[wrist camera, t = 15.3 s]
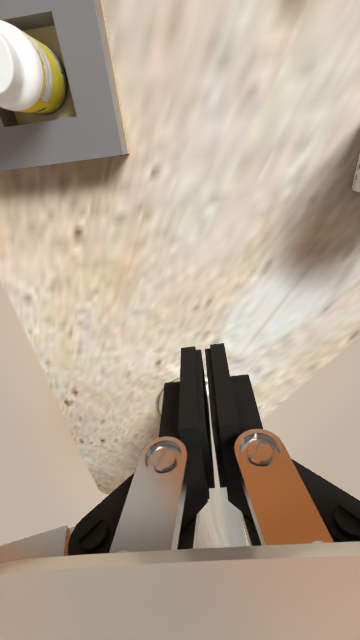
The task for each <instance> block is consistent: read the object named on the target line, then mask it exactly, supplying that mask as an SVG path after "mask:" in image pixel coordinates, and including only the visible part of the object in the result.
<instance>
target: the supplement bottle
mask: <svg viewBox="0 0 360 640" xmlns="http://www.w3.org/2000/svg"><path fill="white" fill-rule="evenodd" d="M68 92H69V81H68V77H67V73H66V70H65V67H64V65H63V63H62V62H61V60H60V59H59V57H58V56H57V55H56V54H55V53H54V52H53V51H52V50H51V49H50V48H48V47H47V46H45V45H44V44H42V43H41V42H39V41H37V40H36V39H34V38H33V37H31V36H29V35H28V34H26V33H25V32H23V31H21V30H20V29H18V28H17V27H15V26H13V25H11V24H9V23H7V22H5V21H2V20H0V107H2V108H4V109H8V110H12V111H18V112H26V113H33V114H41V115H50V114H53V113H56V112H58V111H59V110H60V109H61V108H62V107H63V106H64V104H65V102H66V100H67V97H68Z"/></svg>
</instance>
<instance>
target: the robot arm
mask: <svg viewBox="0 0 360 640" xmlns="http://www.w3.org/2000/svg"><path fill="white" fill-rule="evenodd" d="M205 354H206V366H207V376H204V369H203V361H202V354H201V350H196V349H195V347H186V348H181V368H180V378H179V379H176V380H174V381H173V382H169V383H165V385H164V390H163V391H162V393H161V395H160V399H159V411H160V414H161V423H160V432H159V438H157V439H154V440H153V441H151V442H150V443H148V444H147V445H146V446H145V448H144V449H143V451H142V453H141V455H140V458H139V461H138V464H137V467H136V470H135V473H134V474H132V475H131V476H130V477H129V478H128V479H127V480H126V481H124V482H123V483H122V484H121V485H120V486H119V487H118V488H117V489H115V490H114V491H113V492H112V493H111V494H110V495H109V496H107V497H106V498H105V499H104V500H103V501H102V502H101V503H100V504H98V505H97V506H96V507H95V508H94V509H93V510H92V511H90V512H89V513H88V514H87V515H86V516H85V517H84V518H83V519H82V520H81V521H80V522H79V523H78V524H77V525H76V526H75V527H72V528H68V527H67V526H63V527H60V528H57V529H54V530H50V531H47V532H44V533H40V534H37V535H34V536H31V537H28V538H24V539H21V540H18V541H15V542H11V543H9V544H5V545H2V546H0V640H360V501H359V500H358V499H356V498H354V497H353V496H351V495H349V494H348V493H346V492H344V491H343V490H341V489H339V488H338V487H336V486H335V485H333V484H332V483H330V482H328V481H327V480H325V479H323V478H322V477H320V476H318V475H316V474H315V473H314V472H312V471H310V470H309V469H307V468H305V467H304V466H302V465H301V464H299V463H297V462H296V461H294V460H292V459H291V458H290V456H289V454H288V452H287V450H286V448H285V446H284V444H283V443H282V441H281V440H280V438H279V437H277V436H276V435H275V434H273V433H271V432H269V431H267V430H263V427H262V423H261V420H260V416H259V412H258V408H257V405H256V401H255V397H254V393H253V390H252V386H251V382H250V379H249V376H248V375H239V376H230V374H229V369H228V363H227V358H226V353H225V347H224V343H222V344H213V345H210V349H205ZM242 522H243V523H242ZM243 525H244V528H245V532H246V535H247V539H248V542H249V546H247V544H246V539H245V534H244V529H243Z"/></svg>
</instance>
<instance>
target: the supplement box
mask: <svg viewBox="0 0 360 640" xmlns="http://www.w3.org/2000/svg"><path fill="white" fill-rule="evenodd" d="M352 190H353V191H356V192H359V193H360V153H359V157H358V162H357V166H356V171H355V175H354V180H353V184H352Z"/></svg>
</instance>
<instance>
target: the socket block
mask: <svg viewBox="0 0 360 640" xmlns="http://www.w3.org/2000/svg"><path fill="white" fill-rule="evenodd" d="M0 20H2V21H5V22H7V23H9V24H11V25H13V26H15V27H17V28H18V29H20V30H21V31H23V32H25V33H26V34H28V35H29V36H31V37H33V38H34V39H36V40H37V41H39V42H41V43H42V44H44V45H45V46H47V47H48V48H50V49H51V50H52V51H53V52H54V53H55V54H56V55H57V56H58V57H59V59H60V60H61V62H62V63H63V65H64V67H65V70H66V73H67V77H68V81H69V92H68V97H67V100H66V102H65V104H64V106H63V107H62V108H61V109H60V110H59V111H58V112H56V113H53V114H50V115H41V114H33V113H26V112H18V111H12V110H8V109H4V108H2V107H0V172H1V171H8V170H15V169H23V168H30V167H37V166H45V165H52V164H59V163H67V162H74V161H81V160H89V159H96V158H103V157H111V156H118V155H124V154H128V153H130V152H129V146H128V141H127V135H126V129H125V124H124V118H123V113H122V107H121V101H120V96H119V90H118V84H117V79H116V73H115V68H114V62H113V56H112V51H111V45H110V40H109V34H108V28H107V23H106V17H105V11H104V6H103V0H0Z"/></svg>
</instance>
